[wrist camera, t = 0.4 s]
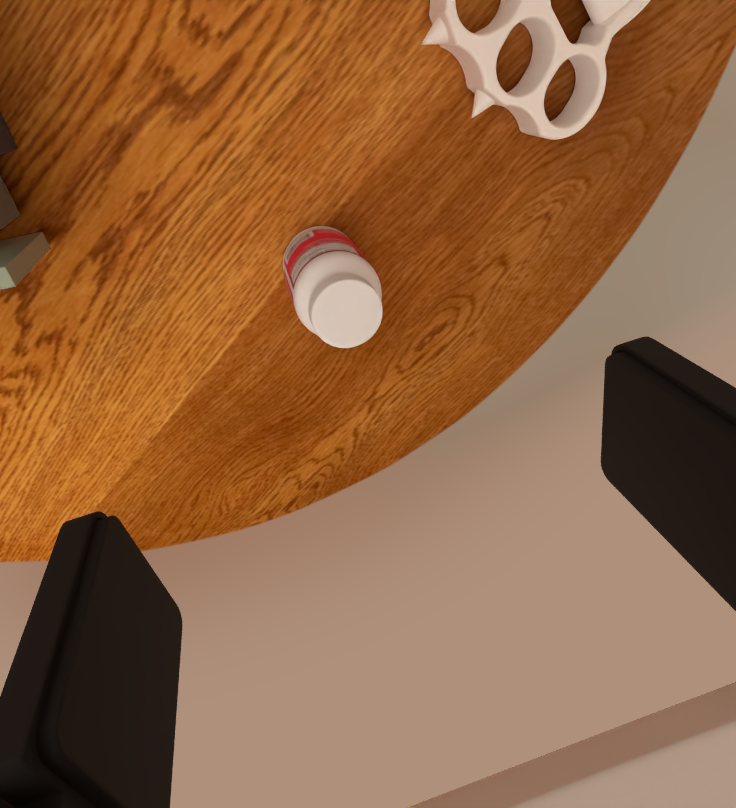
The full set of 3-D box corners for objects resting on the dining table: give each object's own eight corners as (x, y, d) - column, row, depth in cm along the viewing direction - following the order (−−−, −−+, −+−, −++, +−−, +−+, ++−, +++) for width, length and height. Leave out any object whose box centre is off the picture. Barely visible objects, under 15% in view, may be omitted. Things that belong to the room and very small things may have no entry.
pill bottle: (350, 302, 45) (384, 361, 36) (278, 296, 43) (294, 356, 34) (363, 228, 42) (402, 272, 33) (285, 218, 40) (305, 262, 31)
